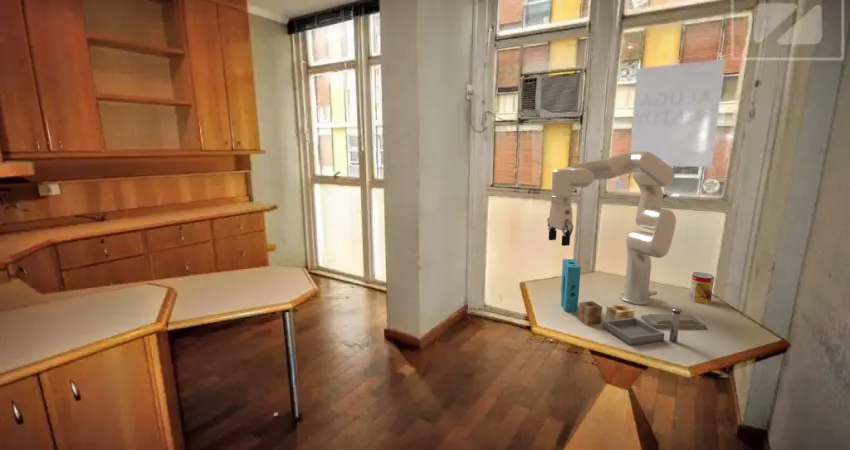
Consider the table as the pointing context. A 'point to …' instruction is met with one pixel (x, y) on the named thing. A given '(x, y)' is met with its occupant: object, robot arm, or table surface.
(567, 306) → the block
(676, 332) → the gauge pin
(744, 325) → the table surface
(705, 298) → the canned food
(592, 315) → the walnut block
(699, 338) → the table surface
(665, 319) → the soap mold
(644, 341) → the tray
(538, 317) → the table surface
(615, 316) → the oak block
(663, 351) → the table surface
